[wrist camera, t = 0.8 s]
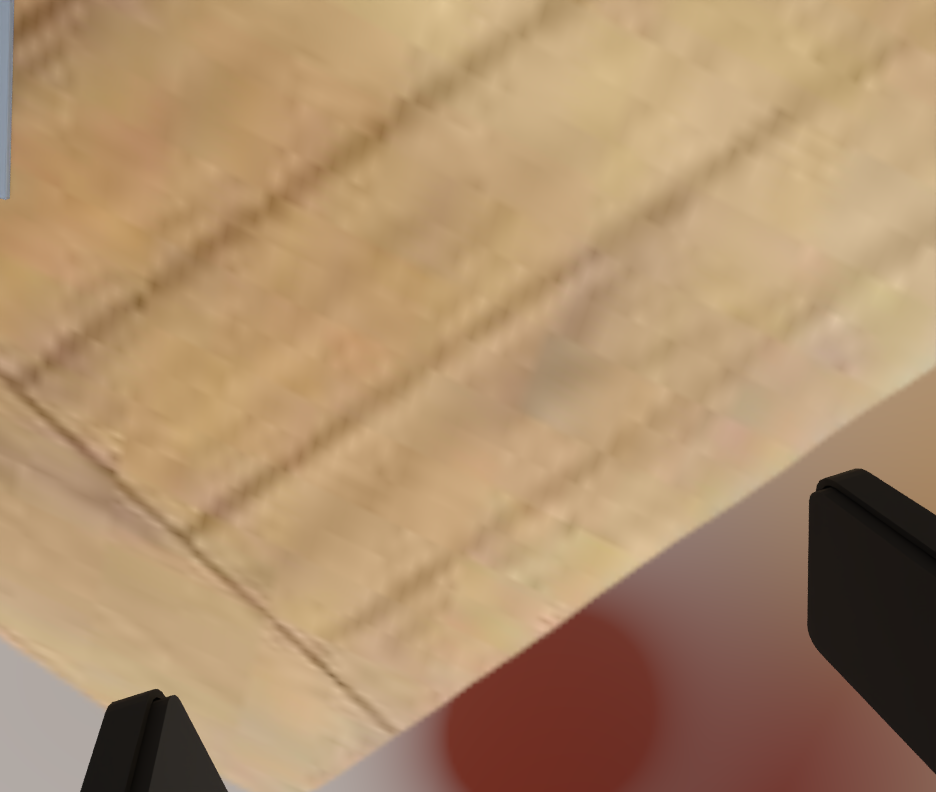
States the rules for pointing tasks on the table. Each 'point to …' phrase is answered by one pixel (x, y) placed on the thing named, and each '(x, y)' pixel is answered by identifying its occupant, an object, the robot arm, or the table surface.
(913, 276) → the table surface
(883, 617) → the robot arm
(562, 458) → the table surface
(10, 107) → the mat
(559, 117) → the table surface
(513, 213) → the table surface
